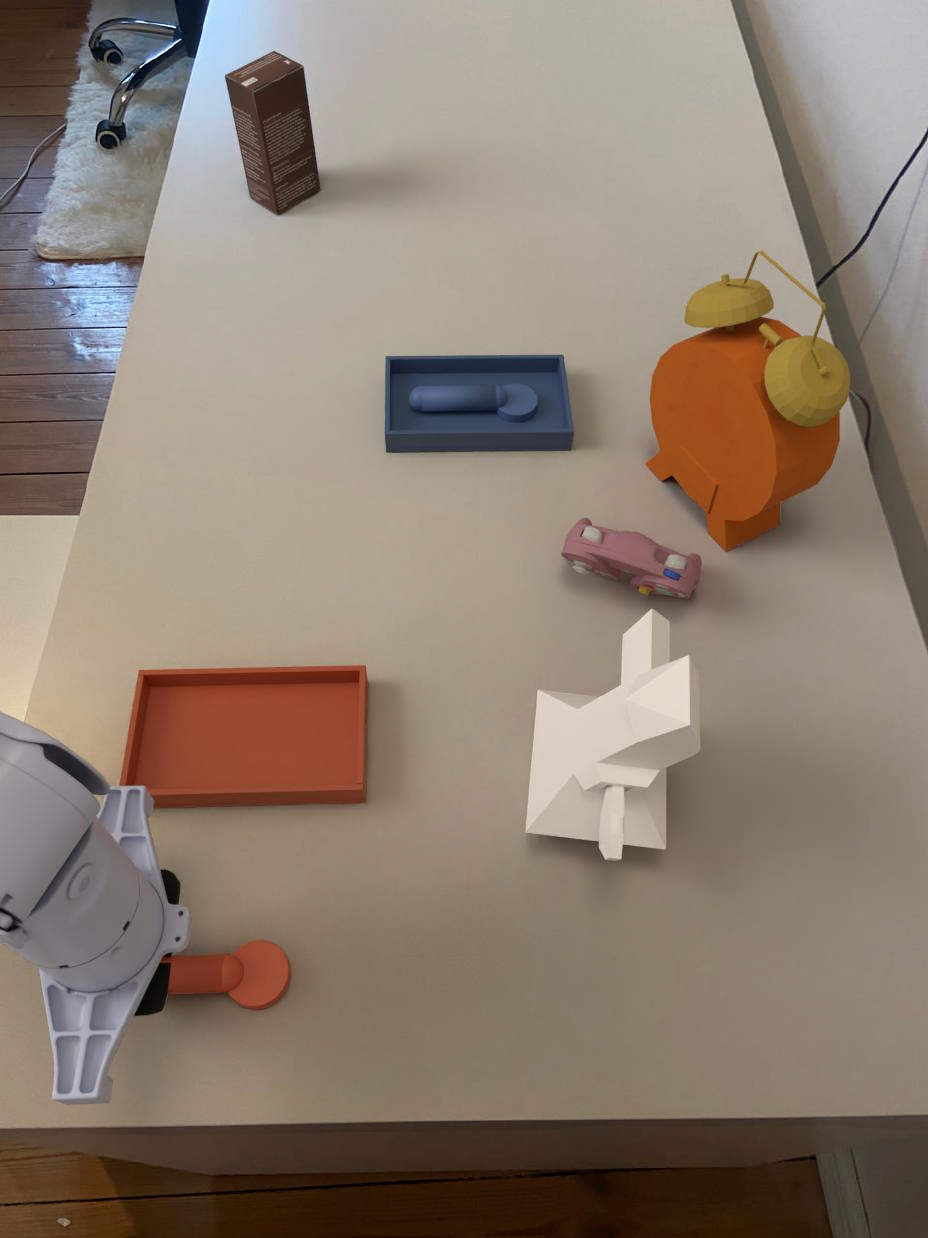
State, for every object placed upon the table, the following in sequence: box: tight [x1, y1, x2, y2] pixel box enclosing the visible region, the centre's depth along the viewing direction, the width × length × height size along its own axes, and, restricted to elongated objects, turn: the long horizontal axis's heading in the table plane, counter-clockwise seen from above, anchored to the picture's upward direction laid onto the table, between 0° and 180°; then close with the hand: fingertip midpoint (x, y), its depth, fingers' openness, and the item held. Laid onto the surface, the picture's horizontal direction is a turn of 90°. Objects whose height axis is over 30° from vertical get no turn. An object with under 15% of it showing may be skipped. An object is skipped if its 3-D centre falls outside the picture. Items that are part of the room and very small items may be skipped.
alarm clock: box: [645, 250, 851, 553], centre depth 67 cm, size 13×6×20 cm, turn 31°
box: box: [224, 50, 321, 215], centre depth 90 cm, size 6×4×12 cm
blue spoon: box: [409, 384, 538, 422], centre depth 78 cm, size 10×4×2 cm, turn 92°
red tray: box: [118, 664, 369, 809], centre depth 62 cm, size 15×9×2 cm, turn 92°
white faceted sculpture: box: [525, 608, 701, 862], centre depth 56 cm, size 8×14×14 cm, turn 173°
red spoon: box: [160, 939, 292, 1011], centre depth 54 cm, size 10×4×2 cm, turn 92°
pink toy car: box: [560, 517, 703, 599], centre depth 68 cm, size 10×5×7 cm, turn 68°
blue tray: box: [384, 354, 575, 453], centre depth 78 cm, size 15×9×2 cm, turn 92°
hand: (150, 974), depth 53 cm, fingers closed on red spoon, 2 cm apart
